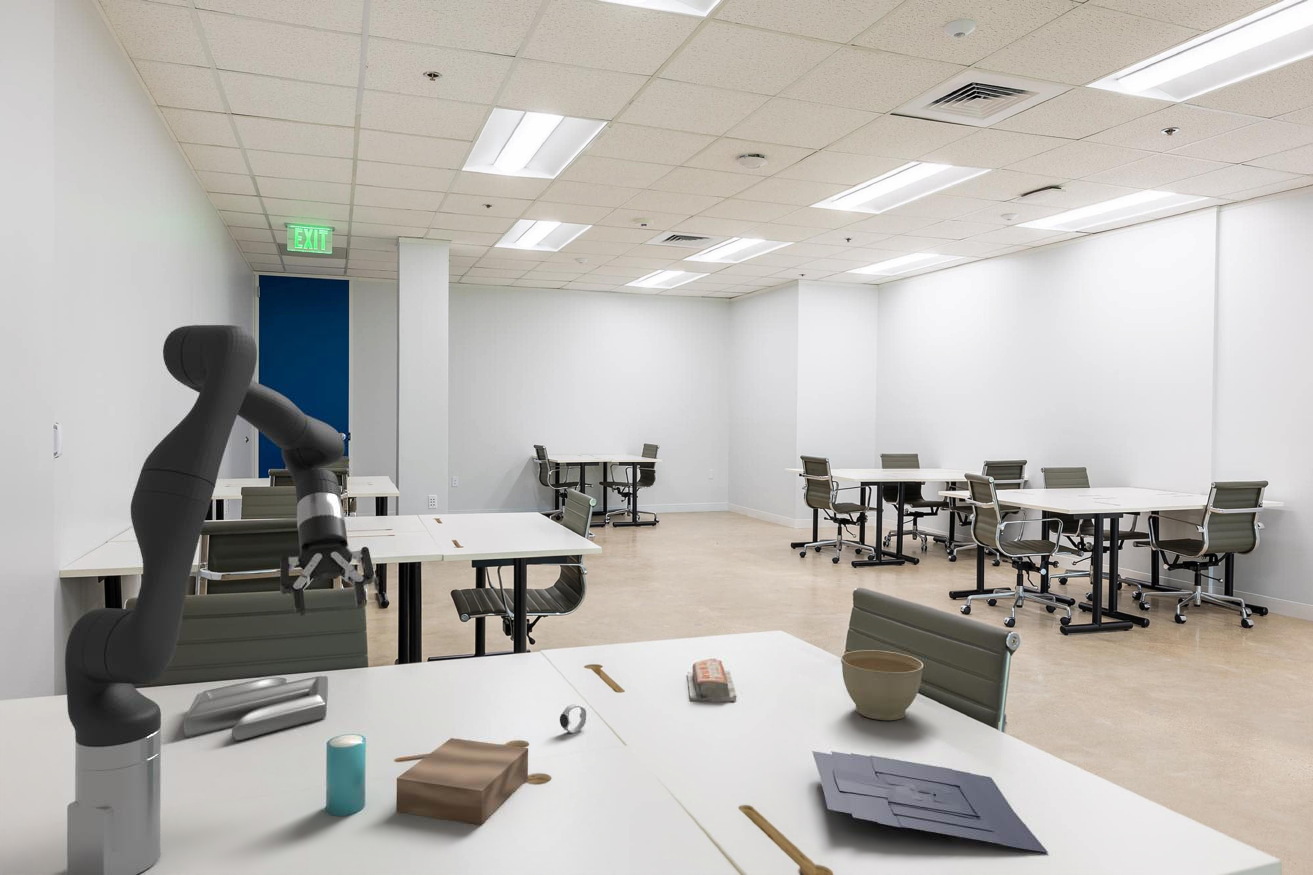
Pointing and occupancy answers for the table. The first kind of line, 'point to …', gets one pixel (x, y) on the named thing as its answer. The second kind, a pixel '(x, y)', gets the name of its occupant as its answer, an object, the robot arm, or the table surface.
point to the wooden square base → (462, 781)
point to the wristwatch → (565, 721)
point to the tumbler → (345, 774)
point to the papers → (921, 798)
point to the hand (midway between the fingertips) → (331, 609)
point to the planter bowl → (881, 682)
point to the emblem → (257, 707)
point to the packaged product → (710, 682)
